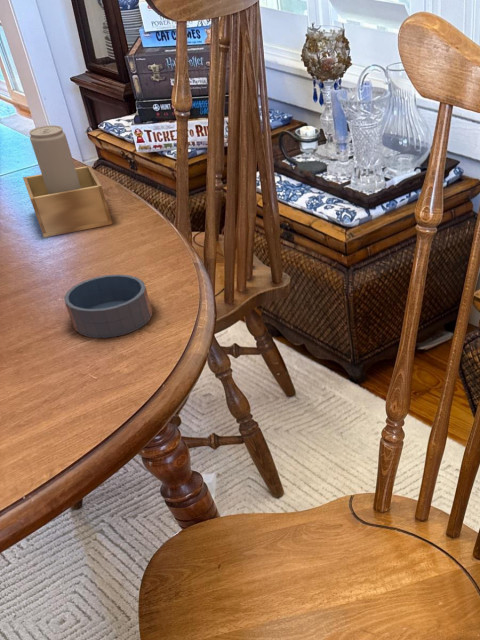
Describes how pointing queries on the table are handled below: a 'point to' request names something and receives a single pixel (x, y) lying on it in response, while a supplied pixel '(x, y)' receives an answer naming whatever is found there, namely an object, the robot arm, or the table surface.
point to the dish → (108, 306)
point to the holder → (69, 204)
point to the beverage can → (54, 159)
